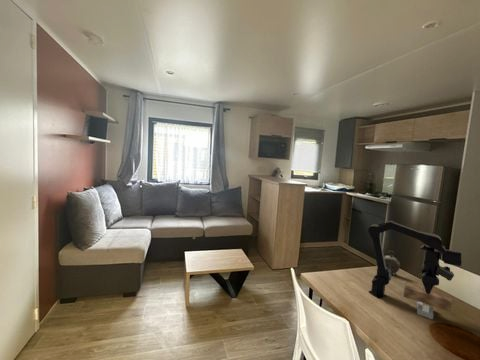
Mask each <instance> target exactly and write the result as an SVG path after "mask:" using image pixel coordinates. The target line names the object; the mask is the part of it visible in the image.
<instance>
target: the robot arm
mask: <svg viewBox="0 0 480 360" xmlns="http://www.w3.org/2000/svg"><path fill="white" fill-rule="evenodd" d="M390 230H391V231H392V230H393V231H395V232H398V233H400V234H402V235H405V236H408V237H411V238H413V239H416V240H418V241H420V242H421V243H422V244H423V245H421V246H420V249H421V250H423V251H424V256H423V264H421V282H422V285H423V288H424V291H426V293H427V294H430V292H431V293H432V290H433V289H434V288H433V287H437V286H439V285H440V278H439V276H441V277H442V278H444V279H446V280H447V281H449V282H451V281H452V279H453V278H454V277H455V274H454V272H453V271H451V267H449V266H447V265H452V266H455V267H458V268H461V267H462V252H461V251H457V250H456V251H455V250H451V249H448V248H447V249H446V246H445V245H443V243H442V239H441V237H440V236H439V235H438V234H436V233H431V232H426V231H421V230H420V231H419V230H418V229H415V228H412V227H408V226H406V225H404V224H403V225H402V224H400V223H398V222H395V221H393V220H388V221H386V222H382V223H379V224H376V223H374V224H373V223H372V225H371V226H369V227H368V229H367V233H368V235H369V237H370V239H371V241H372V244H373V250H374V255H375V256H374V257H375V262H376V267H377V268H376V274H375V275H374V277H373V278H372V281H371V290H368V292H369V294H371V295H373V296H374V297H376V298H377V299H382V298H386V297H387V294H385V291H386V286H387V285H389V283H390V281H391V279H392V273H390V269H387V267H386V265H385V259H384V256H385V255H384V250H383V243H382V233H384V232H386V231H387V232H388V231H390ZM440 257H441V258H440ZM440 259H441V260H440ZM440 261H443V264H446V266H441V265H440Z"/></svg>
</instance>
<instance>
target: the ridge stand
mask: <svg viewBox="0 0 480 360" xmlns="http://www.w3.org/2000/svg"><path fill="white" fill-rule="evenodd" d="M416 314H417V315H419V316H421V317H425V318H427V319H430V320H434V314H435V313H434V306H431V305H428V304H425V303H422V302H419V301H416Z"/></svg>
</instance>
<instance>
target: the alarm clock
mask: <svg viewBox="0 0 480 360" xmlns="http://www.w3.org/2000/svg"><path fill="white" fill-rule="evenodd" d="M390 252H392V253H393V255H392V254H390ZM394 254H395V252H394V251H393V250H389V251H388V255H384V259H385V265H386V267H387V269H390V273H391V274H395V276H398V275H397V273H398V272H399V271H400V268H401V263H400V261H399V260H398V259H397V258H396V257H394Z"/></svg>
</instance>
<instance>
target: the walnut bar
mask: <svg viewBox="0 0 480 360" xmlns="http://www.w3.org/2000/svg"><path fill="white" fill-rule="evenodd" d="M403 289H404V290H403V298H406V299H409V300H413V301H416V302H418V301H419V302H422V303H425V304H428V305H431V306H433V308H434V307H435V308H438V309H441V310H444V311H448V312H452V305H453V300H452V299H451V297H448V296H445V295H442V294H441V295H440V294H437V293H434V292H432V291H431V292H430V294H427V293H426V290H425V289H421V288H417V287H414V286H410V285H406V284H404V288H403Z"/></svg>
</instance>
